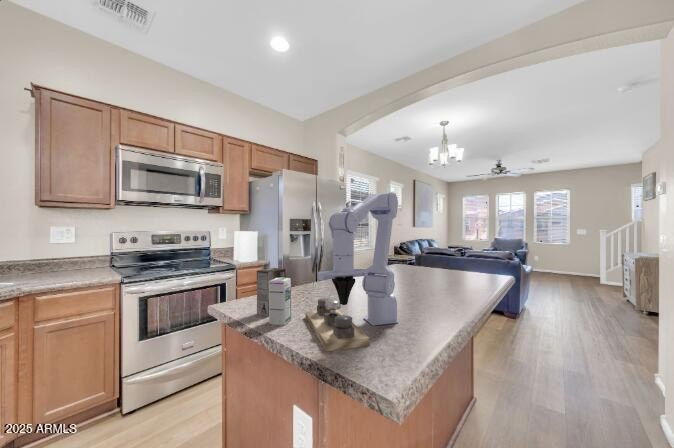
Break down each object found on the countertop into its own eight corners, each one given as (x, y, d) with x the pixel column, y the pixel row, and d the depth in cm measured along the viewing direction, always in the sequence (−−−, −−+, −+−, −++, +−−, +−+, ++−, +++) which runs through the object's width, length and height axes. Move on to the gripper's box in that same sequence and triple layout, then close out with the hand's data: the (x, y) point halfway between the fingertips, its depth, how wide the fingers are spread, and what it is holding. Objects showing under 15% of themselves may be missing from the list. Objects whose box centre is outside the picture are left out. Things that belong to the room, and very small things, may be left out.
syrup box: (285, 325, 88) (285, 280, 88) (268, 324, 89) (268, 280, 90) (291, 320, 94) (291, 277, 94) (275, 318, 95) (275, 277, 95)
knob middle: (338, 312, 88) (338, 298, 88) (342, 317, 83) (342, 302, 83) (323, 314, 86) (323, 299, 86) (327, 318, 82) (327, 303, 82)
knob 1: (329, 310, 97) (329, 297, 97) (333, 314, 93) (333, 301, 93) (316, 311, 96) (316, 298, 96) (319, 315, 91) (319, 302, 91)
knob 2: (348, 330, 78) (348, 314, 78) (354, 336, 74) (354, 319, 74) (332, 332, 77) (332, 316, 77) (337, 338, 72) (337, 321, 72)
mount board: (337, 314, 100) (337, 302, 100) (369, 345, 73) (369, 328, 73) (305, 317, 96) (305, 304, 96) (326, 351, 69) (326, 333, 70)
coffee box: (274, 308, 108) (274, 267, 108) (286, 310, 104) (286, 268, 105) (256, 314, 100) (256, 270, 101) (268, 317, 97) (268, 271, 97)
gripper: (359, 252, 82) (359, 298, 82) (313, 254, 76) (313, 303, 76) (371, 254, 76) (371, 303, 76) (323, 257, 70) (323, 310, 70)
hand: (343, 304), depth 76 cm, fingers closed
